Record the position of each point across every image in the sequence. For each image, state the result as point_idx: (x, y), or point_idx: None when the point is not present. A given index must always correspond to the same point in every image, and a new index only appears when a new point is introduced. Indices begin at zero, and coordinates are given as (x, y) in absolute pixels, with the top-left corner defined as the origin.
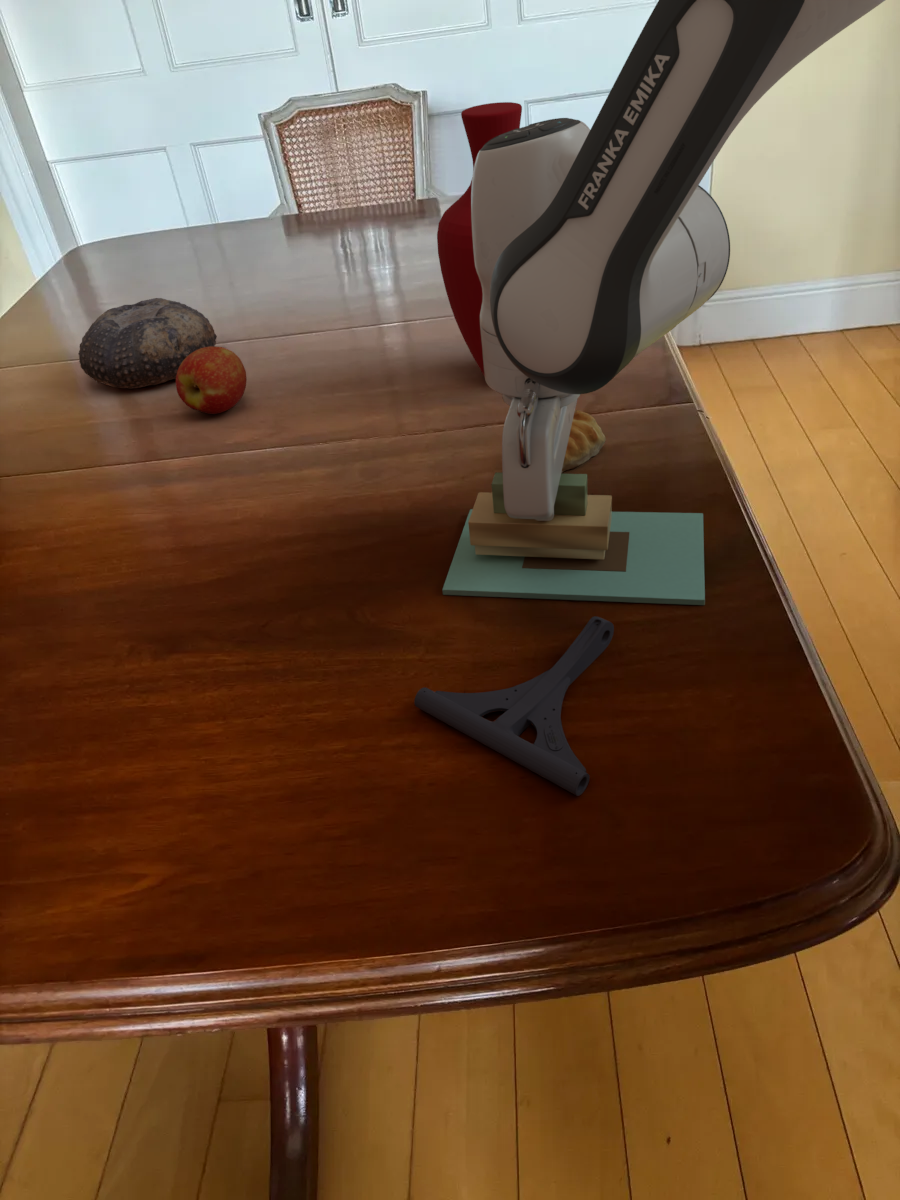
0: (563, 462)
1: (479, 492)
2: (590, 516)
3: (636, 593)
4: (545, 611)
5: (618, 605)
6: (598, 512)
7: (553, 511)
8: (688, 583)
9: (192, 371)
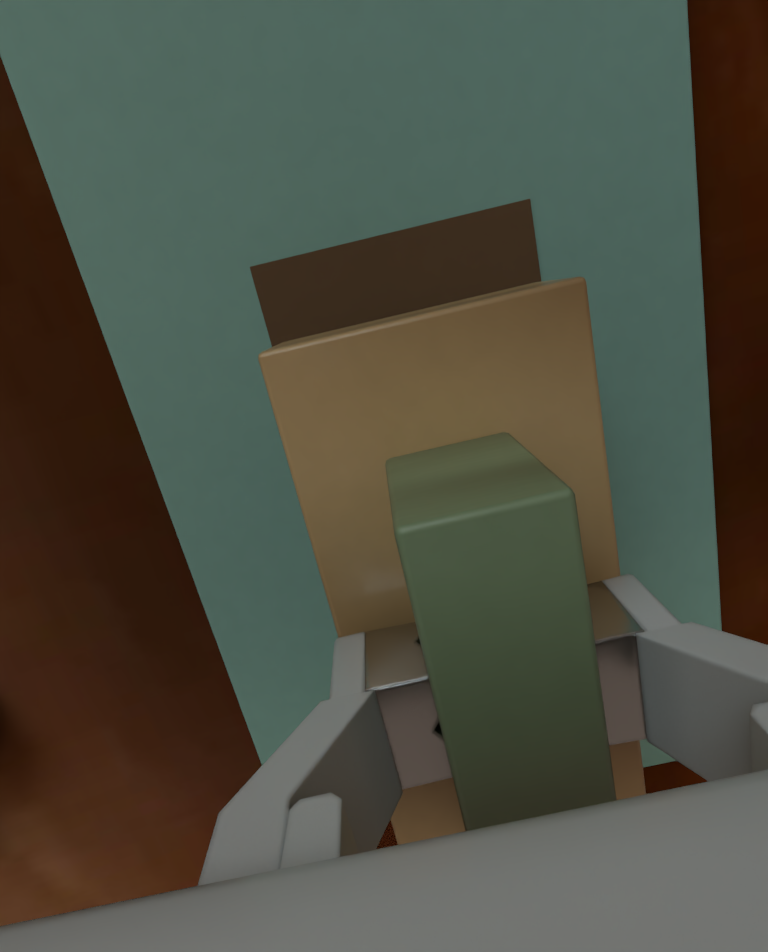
0: (758, 791)
1: None
2: (506, 402)
3: (670, 107)
4: (761, 427)
5: (699, 180)
6: (455, 372)
7: (646, 591)
8: None
9: None
